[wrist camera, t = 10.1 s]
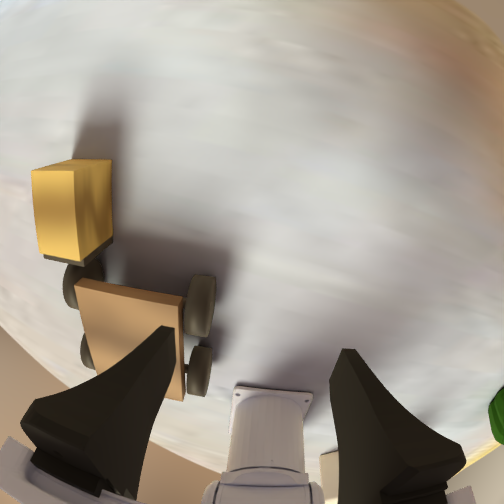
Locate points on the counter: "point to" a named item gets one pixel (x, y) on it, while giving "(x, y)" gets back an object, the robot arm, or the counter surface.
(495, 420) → the bell pepper
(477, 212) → the counter surface
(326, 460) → the container
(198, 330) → the trolley
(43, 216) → the block
